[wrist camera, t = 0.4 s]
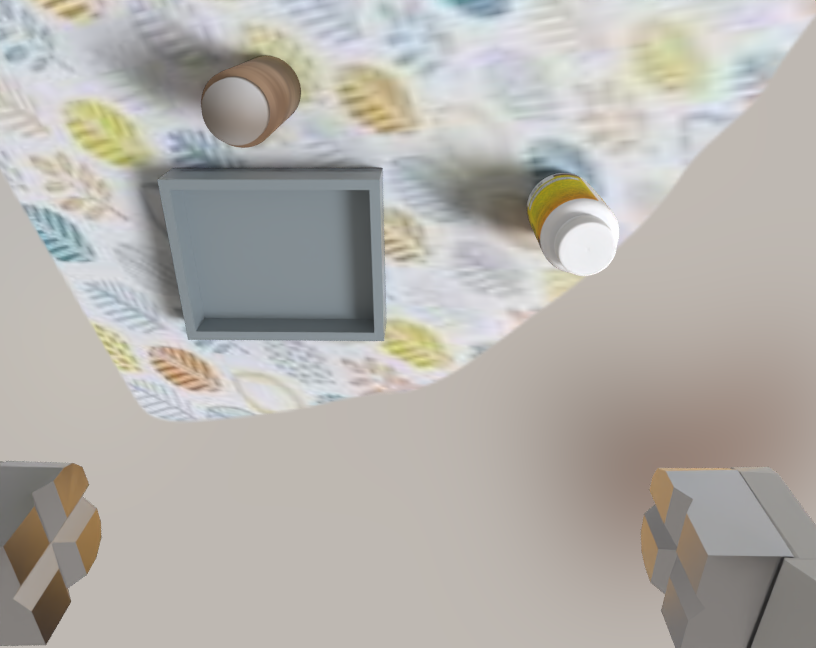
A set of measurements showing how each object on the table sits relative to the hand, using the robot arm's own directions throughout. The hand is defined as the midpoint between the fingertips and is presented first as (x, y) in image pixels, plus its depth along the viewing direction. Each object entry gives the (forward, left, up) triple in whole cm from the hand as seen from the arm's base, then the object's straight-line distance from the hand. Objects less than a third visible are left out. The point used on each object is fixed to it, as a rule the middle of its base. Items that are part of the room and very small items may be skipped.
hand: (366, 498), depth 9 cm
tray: (+13, -11, -44) cm, 47 cm away
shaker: (0, -11, -44) cm, 45 cm away
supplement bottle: (+9, +12, -44) cm, 47 cm away
